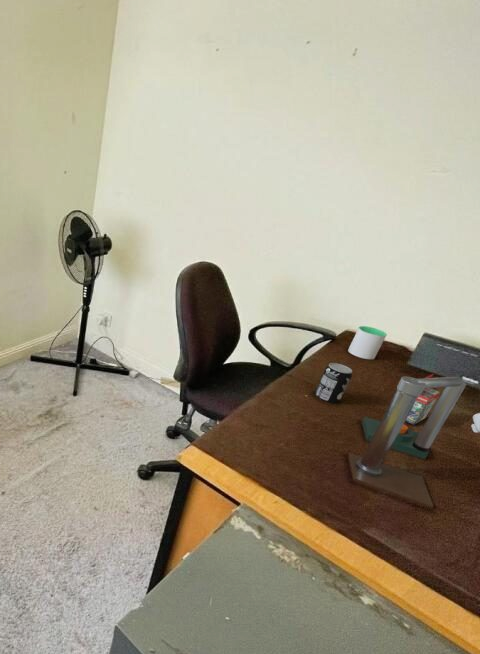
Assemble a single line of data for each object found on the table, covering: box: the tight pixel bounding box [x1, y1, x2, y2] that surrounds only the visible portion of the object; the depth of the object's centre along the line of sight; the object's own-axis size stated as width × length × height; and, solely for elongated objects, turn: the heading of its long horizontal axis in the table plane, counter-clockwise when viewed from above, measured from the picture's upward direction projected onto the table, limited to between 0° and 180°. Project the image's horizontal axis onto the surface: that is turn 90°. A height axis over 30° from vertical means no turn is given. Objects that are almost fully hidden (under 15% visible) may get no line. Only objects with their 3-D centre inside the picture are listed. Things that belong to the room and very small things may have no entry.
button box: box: [361, 416, 429, 460], centre depth 116 cm, size 12×10×4 cm
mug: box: [347, 325, 387, 360], centre depth 161 cm, size 12×8×10 cm
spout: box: [396, 376, 468, 453], centre depth 98 cm, size 16×4×21 cm, turn 95°
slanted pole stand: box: [347, 388, 434, 509], centre depth 98 cm, size 14×11×26 cm
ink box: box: [405, 373, 441, 426], centre depth 123 cm, size 4×8×15 cm, turn 116°
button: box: [399, 423, 409, 434], centre depth 115 cm, size 4×4×2 cm
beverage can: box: [314, 362, 353, 404], centre depth 133 cm, size 7×7×12 cm
